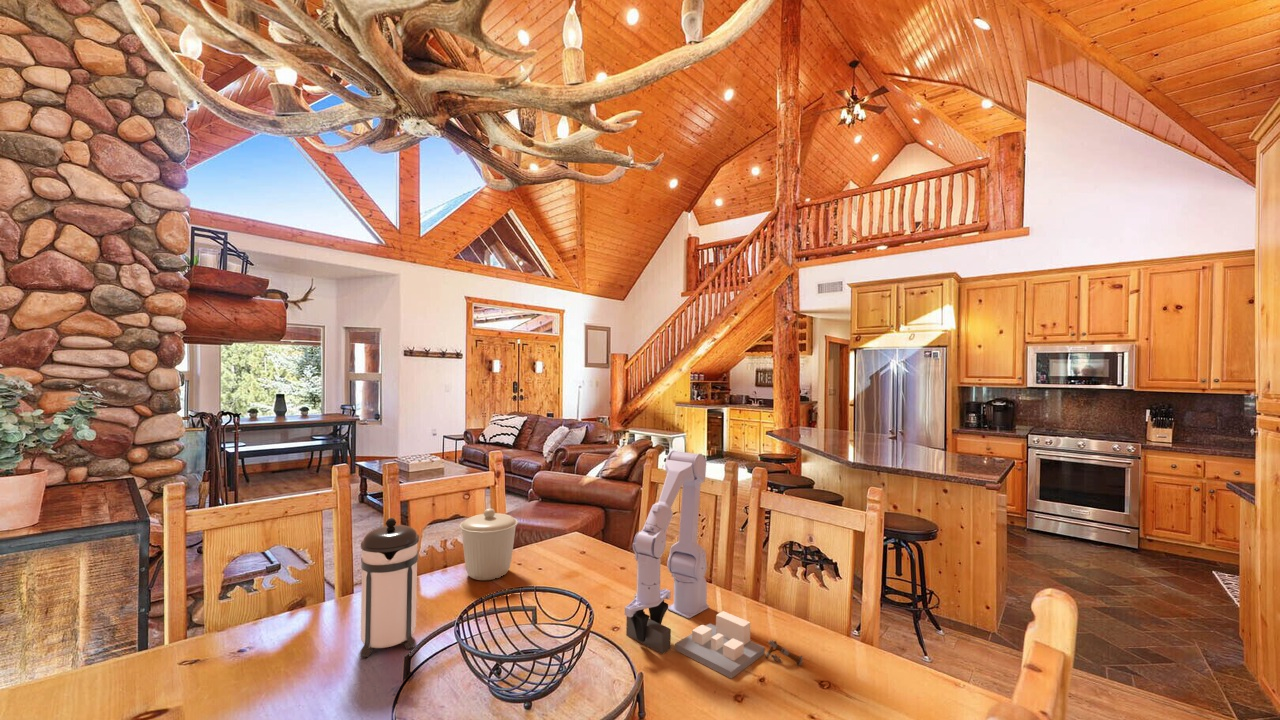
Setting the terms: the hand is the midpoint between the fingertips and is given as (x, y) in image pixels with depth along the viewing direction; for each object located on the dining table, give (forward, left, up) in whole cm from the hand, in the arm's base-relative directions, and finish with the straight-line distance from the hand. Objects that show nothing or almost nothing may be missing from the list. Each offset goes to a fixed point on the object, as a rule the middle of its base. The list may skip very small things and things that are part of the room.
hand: (647, 636), depth 127 cm
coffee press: (+45, -45, -2) cm, 64 cm away
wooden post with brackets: (-16, +28, -2) cm, 32 cm away
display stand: (-9, +15, -1) cm, 18 cm away
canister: (+7, -64, -2) cm, 64 cm away
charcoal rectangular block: (0, 0, -2) cm, 2 cm away
